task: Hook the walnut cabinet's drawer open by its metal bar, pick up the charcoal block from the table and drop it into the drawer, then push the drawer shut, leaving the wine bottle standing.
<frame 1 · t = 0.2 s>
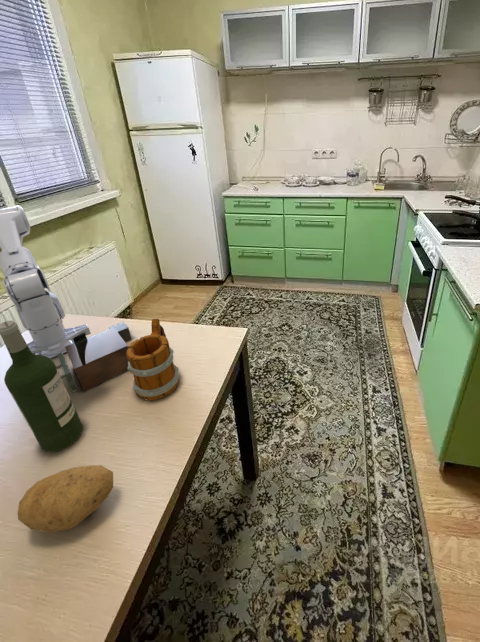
hand: (65, 370, 75), 10 cm above the table, tool pointing down, fingers open, 7 cm apart
drawer: (79, 366, 85), point 4 cm above the table, slide at 1.0 cm
wine bottle: (63, 437, 71), on the table
cabinet: (104, 367, 90), on the table
potato: (78, 510, 58), on the table
block: (122, 338, 102), on the table
mug: (160, 378, 86), on the table
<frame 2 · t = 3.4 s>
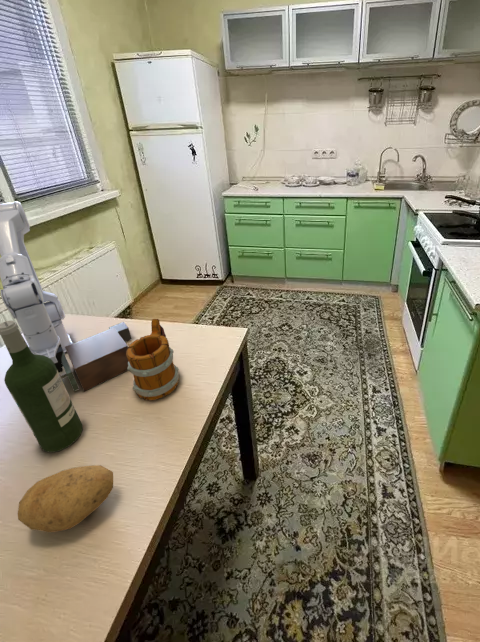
hand: (57, 372, 82), 5 cm above the table, tool pointing down, fingers closed
drawer: (80, 365, 86), point 4 cm above the table, slide at 0.7 cm
everything else where it was.
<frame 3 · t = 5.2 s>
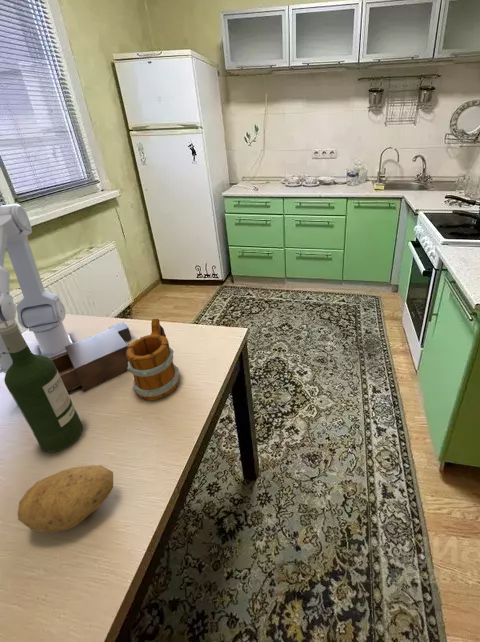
hand: (31, 390, 79), 3 cm above the table, tool pointing down, fingers closed, pressing on drawer
drawer: (55, 376, 82), point 4 cm above the table, slide at 6.3 cm, touching gripper
everything else where it was.
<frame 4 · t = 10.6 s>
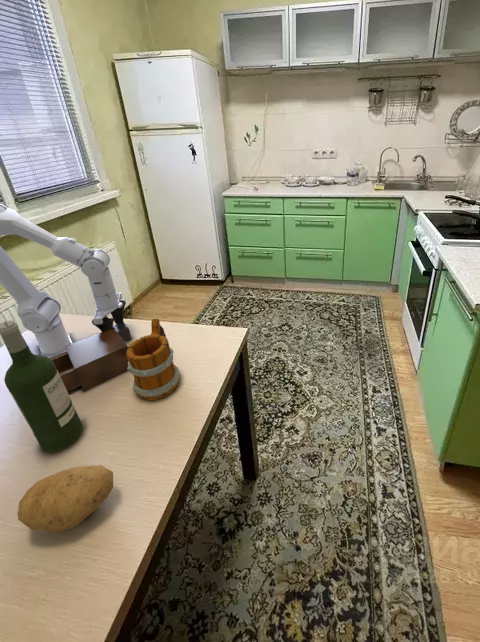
hand: (114, 330, 100), 4 cm above the table, tool pointing down, fingers open, 6 cm apart
drawer: (56, 376, 82), point 4 cm above the table, slide at 6.1 cm
everything else where it was.
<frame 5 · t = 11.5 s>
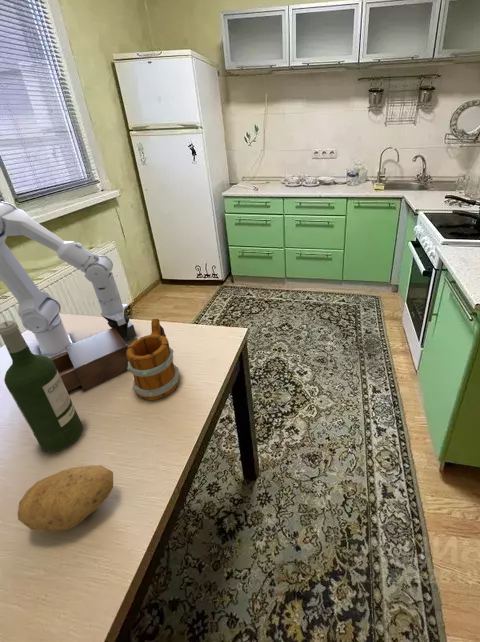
hand: (121, 334, 101), 2 cm above the table, tool pointing down, fingers closed on block, 4 cm apart
block: (126, 336, 103), on the table, touching gripper
everything else where it was.
when the fingers open (9 cm above the table, at t = 15.9 s): block drops 3 cm and tips over, resting on drawer.
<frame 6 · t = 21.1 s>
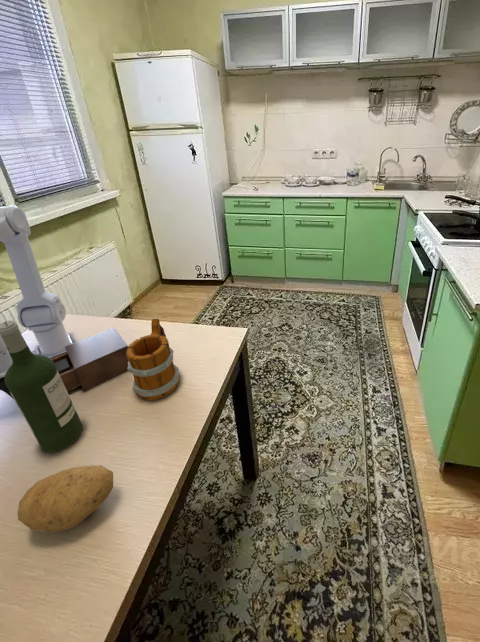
hand: (15, 395, 78), 3 cm above the table, tool pointing down, fingers closed
drawer: (59, 375, 83), point 4 cm above the table, slide at 5.5 cm, touching block, gripper
block: (70, 368, 84), point 4 cm above the table, tilted 90°, touching drawer
everything else where it was.
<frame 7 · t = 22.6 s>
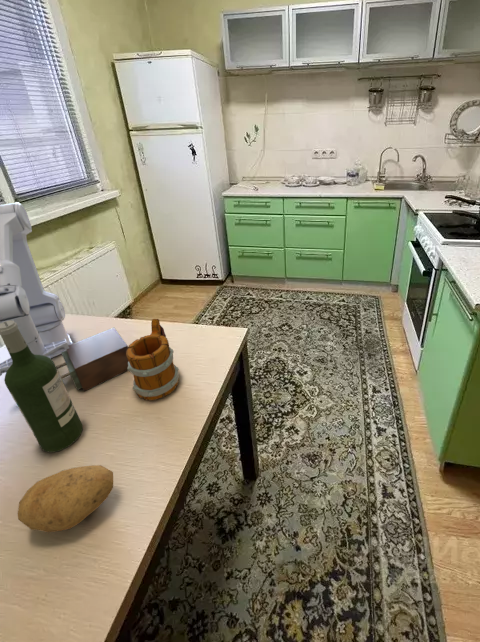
hand: (45, 382, 81), 3 cm above the table, tool pointing down, fingers closed, pressing on drawer
drawer: (83, 364, 86), point 4 cm above the table, slide at 0.0 cm, touching block, cabinet, gripper
block: (93, 358, 87), point 4 cm above the table, tilted 90°, touching drawer
everything else where it was.
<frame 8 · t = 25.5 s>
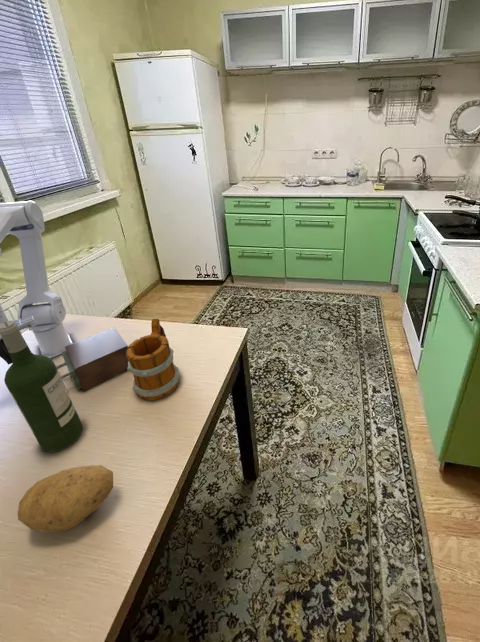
hand: (11, 361, 78), 10 cm above the table, tool pointing down, fingers closed
drawer: (83, 364, 86), point 4 cm above the table, slide at 0.0 cm, touching block
everything else where it was.
at the end: block inside the target area in the cabinet (1.4 cm from its centre), point 4.2 cm above the cabinet's base; drawer slide at 0.0 cm; wine bottle tilted 0° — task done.
